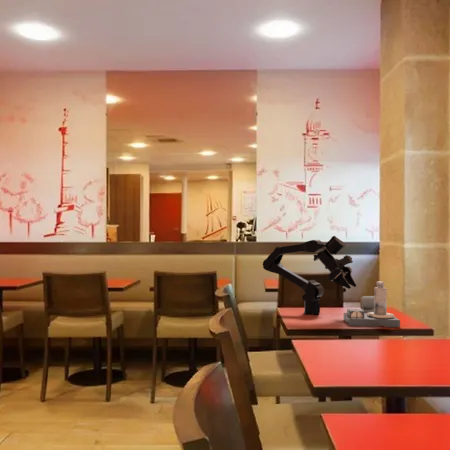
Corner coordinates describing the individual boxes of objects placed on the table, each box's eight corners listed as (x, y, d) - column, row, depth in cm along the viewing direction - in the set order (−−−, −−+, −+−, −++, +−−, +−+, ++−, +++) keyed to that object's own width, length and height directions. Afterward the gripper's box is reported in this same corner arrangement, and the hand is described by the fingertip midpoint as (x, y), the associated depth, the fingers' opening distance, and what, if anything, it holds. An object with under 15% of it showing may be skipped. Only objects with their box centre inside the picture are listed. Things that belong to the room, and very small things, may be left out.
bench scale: (349, 326, 204) (349, 312, 204) (343, 319, 219) (343, 306, 219) (400, 327, 203) (400, 313, 203) (390, 321, 218) (390, 308, 218)
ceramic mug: (361, 309, 249) (361, 294, 249) (379, 310, 246) (379, 295, 246) (358, 313, 240) (358, 296, 239) (376, 314, 236) (376, 298, 236)
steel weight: (372, 314, 210) (373, 281, 210) (375, 312, 214) (375, 281, 214) (385, 315, 207) (385, 282, 208) (387, 313, 212) (387, 281, 212)
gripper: (335, 249, 219) (360, 276, 213) (347, 248, 235) (371, 273, 230) (317, 267, 223) (342, 293, 217) (330, 265, 239) (353, 289, 233)
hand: (352, 287), depth 224 cm, fingers open, 9 cm apart
